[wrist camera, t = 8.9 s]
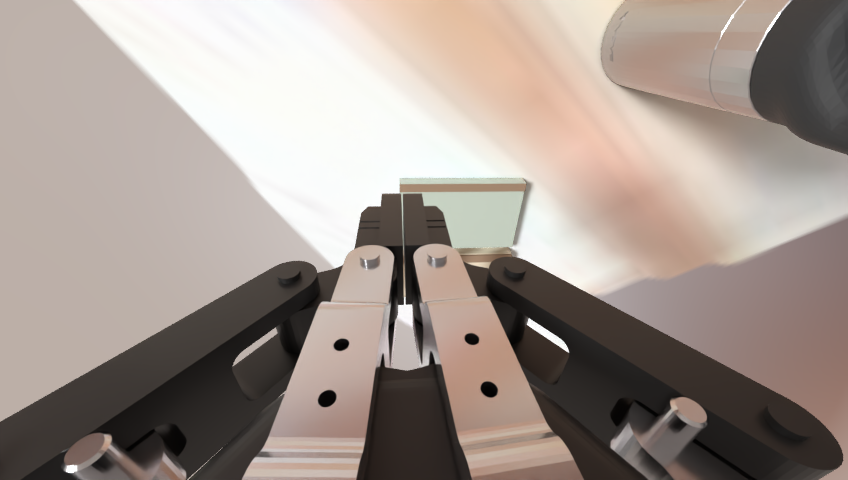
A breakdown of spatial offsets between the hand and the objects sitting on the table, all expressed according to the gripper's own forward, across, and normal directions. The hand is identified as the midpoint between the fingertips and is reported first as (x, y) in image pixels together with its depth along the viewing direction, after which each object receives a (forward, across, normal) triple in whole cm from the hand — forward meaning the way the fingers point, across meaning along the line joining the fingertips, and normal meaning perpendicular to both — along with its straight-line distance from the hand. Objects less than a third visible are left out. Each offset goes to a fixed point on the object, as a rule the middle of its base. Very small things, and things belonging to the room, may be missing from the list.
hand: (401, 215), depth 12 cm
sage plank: (+27, -8, +14) cm, 32 cm away
